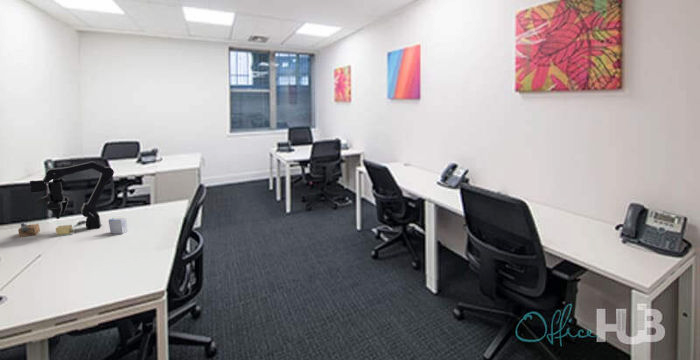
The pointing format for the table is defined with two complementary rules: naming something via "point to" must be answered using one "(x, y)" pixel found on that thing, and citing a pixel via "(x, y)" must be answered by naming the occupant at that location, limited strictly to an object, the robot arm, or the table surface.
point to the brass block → (64, 229)
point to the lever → (24, 227)
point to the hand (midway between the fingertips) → (60, 216)
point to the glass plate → (65, 234)
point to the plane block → (30, 230)
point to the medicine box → (118, 225)
